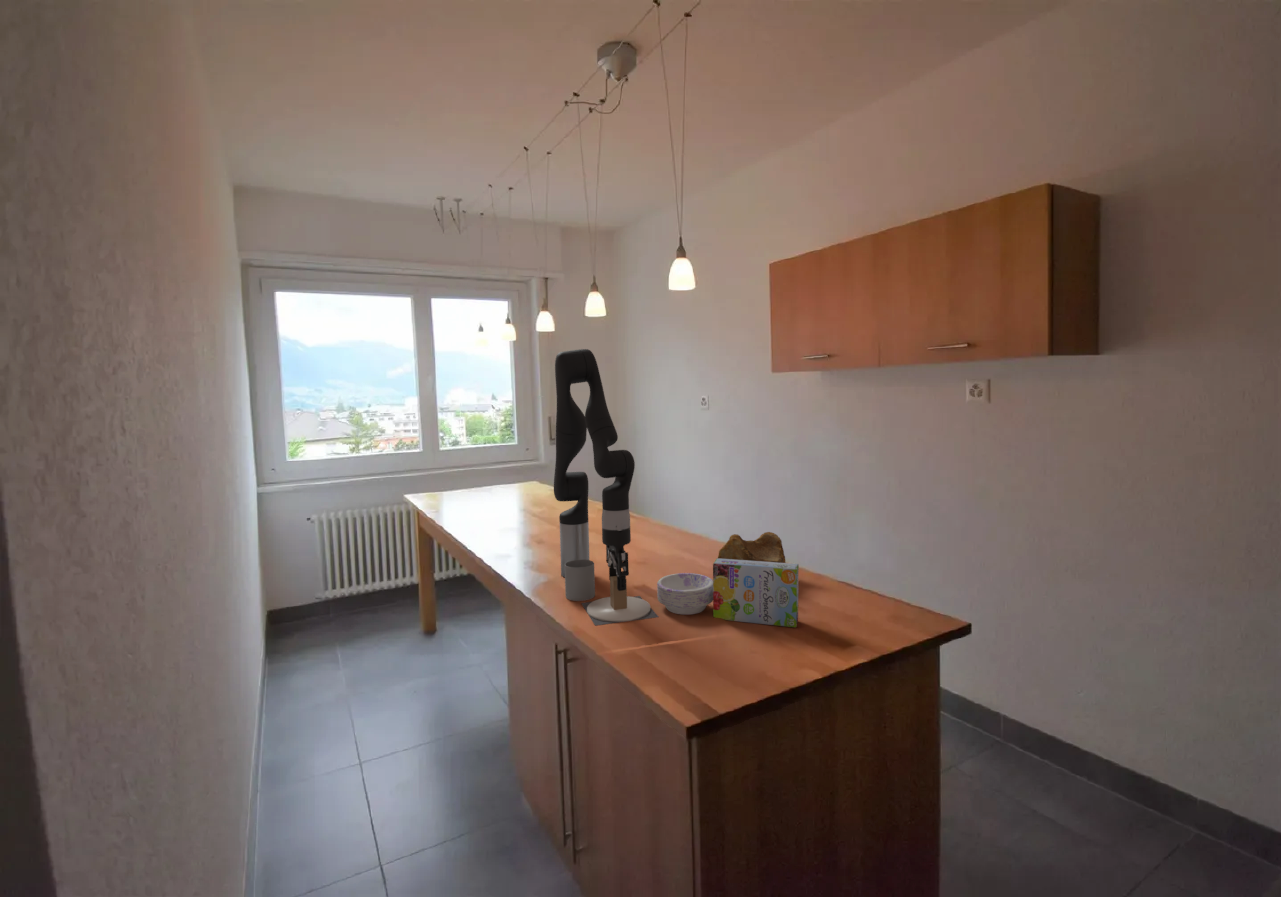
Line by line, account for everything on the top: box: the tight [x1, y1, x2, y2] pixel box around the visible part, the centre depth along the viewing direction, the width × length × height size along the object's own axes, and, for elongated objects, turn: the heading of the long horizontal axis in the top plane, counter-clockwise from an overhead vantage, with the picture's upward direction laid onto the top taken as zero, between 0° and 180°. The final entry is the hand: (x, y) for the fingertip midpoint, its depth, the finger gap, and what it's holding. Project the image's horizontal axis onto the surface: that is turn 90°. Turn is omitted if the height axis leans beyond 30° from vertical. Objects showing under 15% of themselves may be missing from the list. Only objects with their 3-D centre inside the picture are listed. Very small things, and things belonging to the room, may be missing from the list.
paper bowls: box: [656, 572, 713, 616], centre depth 166 cm, size 15×15×8 cm
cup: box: [564, 559, 596, 602], centre depth 176 cm, size 8×8×10 cm
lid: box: [586, 576, 651, 623], centre depth 165 cm, size 17×17×9 cm
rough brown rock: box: [717, 531, 786, 563], centre depth 185 cm, size 23×17×15 cm
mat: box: [580, 595, 660, 627], centre depth 165 cm, size 17×17×1 cm
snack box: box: [712, 557, 800, 628], centre depth 157 cm, size 21×6×15 cm, turn 71°
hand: (617, 585), depth 164 cm, fingers open, 8 cm apart
